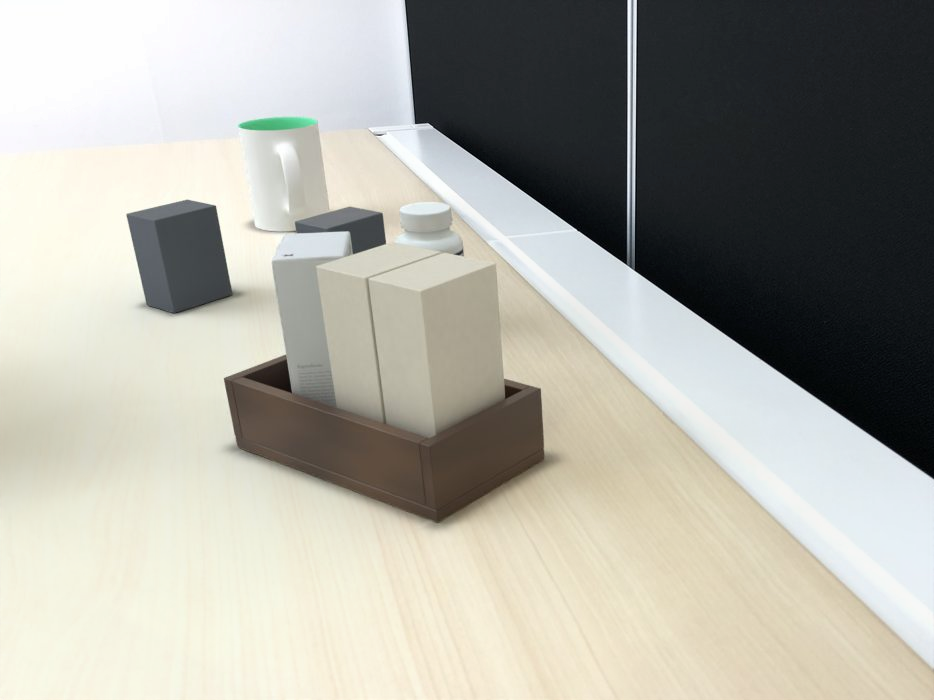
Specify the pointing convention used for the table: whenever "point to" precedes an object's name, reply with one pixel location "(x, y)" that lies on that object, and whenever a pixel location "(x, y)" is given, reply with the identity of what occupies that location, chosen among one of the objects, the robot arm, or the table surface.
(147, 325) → the table surface
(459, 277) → the cream box
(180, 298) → the grey block back
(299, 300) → the cosmetic box
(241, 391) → the brown wooden open box
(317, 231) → the grey block front
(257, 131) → the mug
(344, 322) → the cream box
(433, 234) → the pill bottle
